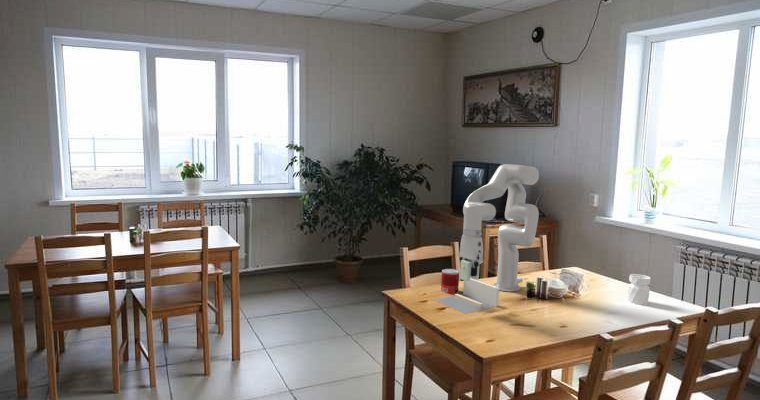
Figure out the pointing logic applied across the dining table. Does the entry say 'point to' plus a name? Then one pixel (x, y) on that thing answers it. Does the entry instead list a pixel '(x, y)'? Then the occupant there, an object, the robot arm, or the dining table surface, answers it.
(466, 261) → the cabinet block
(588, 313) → the dining table surface
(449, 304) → the cleat board
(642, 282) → the white lidded jar
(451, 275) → the canned food
